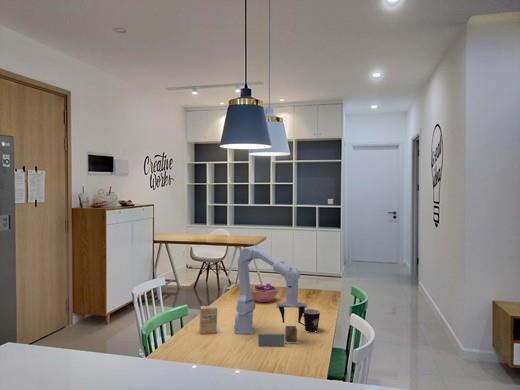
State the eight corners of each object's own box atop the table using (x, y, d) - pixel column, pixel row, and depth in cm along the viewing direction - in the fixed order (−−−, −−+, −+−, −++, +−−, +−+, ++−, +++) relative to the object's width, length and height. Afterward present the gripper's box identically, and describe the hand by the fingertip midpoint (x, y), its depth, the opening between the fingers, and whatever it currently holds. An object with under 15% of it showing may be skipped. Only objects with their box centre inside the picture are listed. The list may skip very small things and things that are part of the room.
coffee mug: (317, 327, 211) (318, 309, 211) (321, 333, 202) (321, 314, 202) (296, 327, 210) (296, 308, 210) (298, 333, 202) (298, 313, 202)
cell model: (244, 299, 264) (244, 282, 264) (271, 296, 272) (271, 280, 272) (254, 306, 249) (255, 288, 249) (282, 303, 257) (283, 285, 257)
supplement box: (200, 334, 197) (201, 308, 197) (199, 331, 202) (200, 305, 202) (216, 333, 199) (217, 307, 199) (215, 330, 204) (216, 305, 204)
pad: (284, 343, 187) (284, 342, 187) (283, 338, 194) (283, 337, 194) (299, 344, 188) (299, 342, 188) (297, 338, 195) (297, 337, 195)
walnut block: (286, 341, 188) (286, 329, 188) (285, 338, 193) (285, 325, 193) (296, 342, 188) (297, 329, 188) (295, 338, 193) (295, 325, 193)
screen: (258, 346, 184) (258, 334, 184) (258, 345, 185) (258, 333, 185) (284, 346, 184) (284, 334, 184) (283, 345, 185) (284, 333, 185)
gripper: (277, 296, 187) (277, 324, 187) (308, 296, 187) (307, 325, 187) (276, 292, 194) (275, 320, 194) (305, 292, 194) (305, 320, 194)
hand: (291, 322), depth 191 cm, fingers open, 7 cm apart
